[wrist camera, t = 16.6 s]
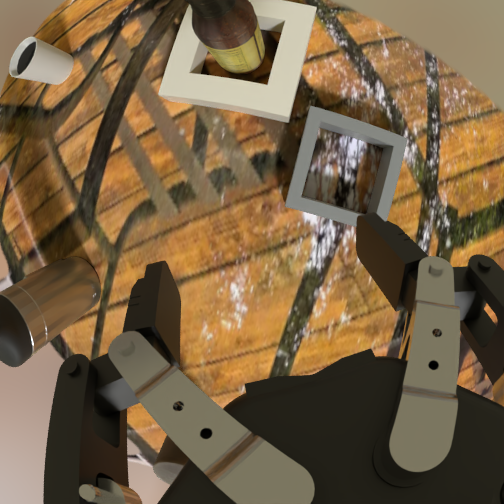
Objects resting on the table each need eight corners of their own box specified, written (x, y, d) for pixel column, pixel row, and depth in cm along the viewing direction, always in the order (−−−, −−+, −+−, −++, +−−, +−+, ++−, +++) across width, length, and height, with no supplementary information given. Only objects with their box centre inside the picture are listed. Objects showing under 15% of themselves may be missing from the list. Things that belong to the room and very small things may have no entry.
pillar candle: (200, 398, 47) (176, 463, 33) (236, 430, 48) (222, 493, 34) (165, 414, 49) (138, 471, 35) (200, 443, 51) (181, 500, 36)
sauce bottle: (234, 30, 32) (196, -59, 13) (275, 49, 32) (264, -43, 13) (208, 67, 33) (146, -7, 14) (248, 86, 34) (213, 13, 15)
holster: (284, 203, 37) (284, 206, 33) (307, 112, 34) (310, 105, 30) (372, 228, 37) (382, 234, 33) (395, 141, 33) (407, 138, 30)
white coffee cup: (76, 45, 33) (39, 28, 24) (75, 78, 35) (34, 65, 25) (48, 61, 34) (11, 49, 25) (47, 93, 36) (7, 84, 26)
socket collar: (169, 101, 35) (158, 94, 31) (201, 5, 31) (194, -8, 27) (288, 123, 35) (289, 117, 31) (314, 21, 30) (316, 7, 26)
